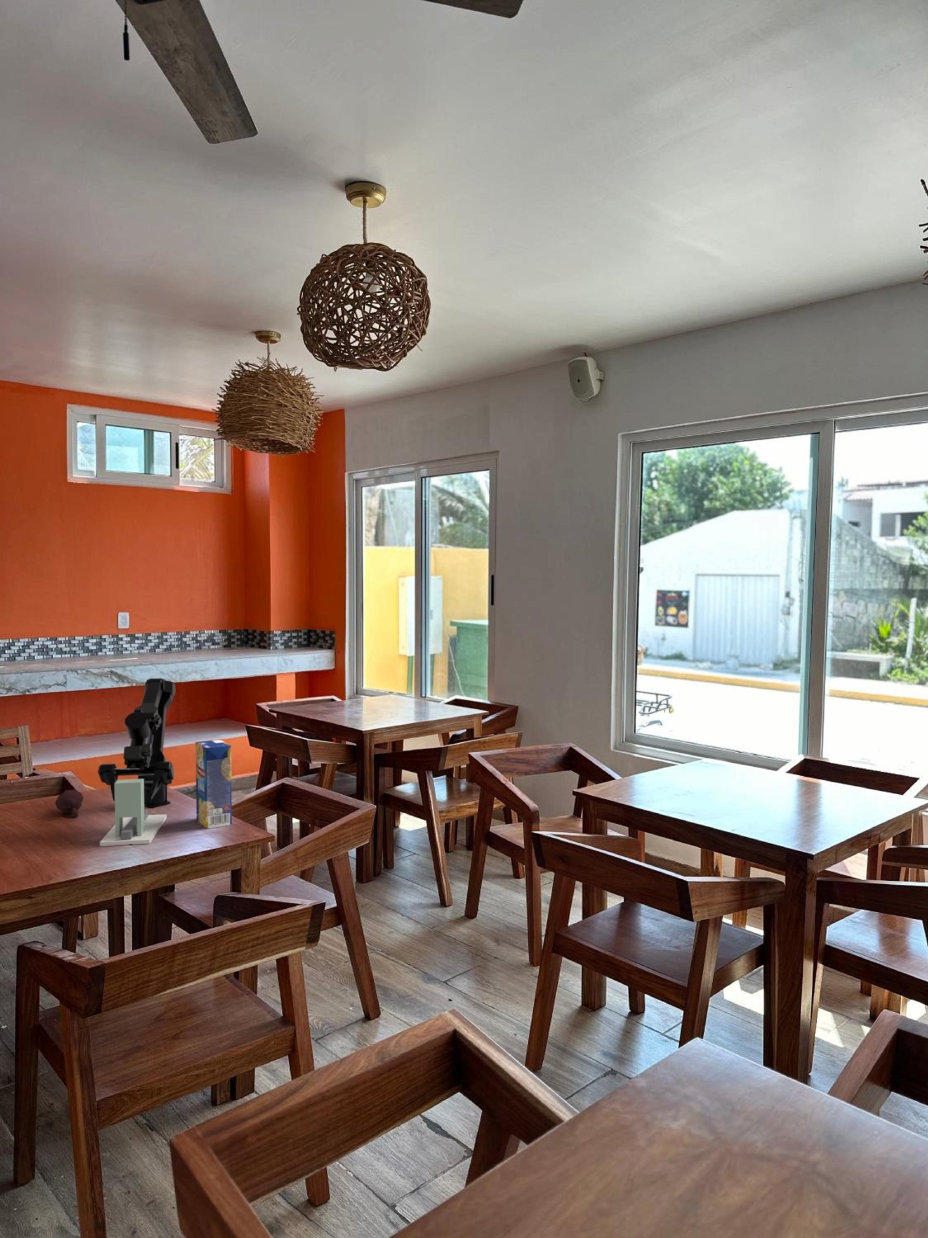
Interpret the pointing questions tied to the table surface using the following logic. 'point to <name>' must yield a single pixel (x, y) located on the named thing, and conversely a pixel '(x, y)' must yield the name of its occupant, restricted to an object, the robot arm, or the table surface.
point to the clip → (129, 803)
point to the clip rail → (143, 839)
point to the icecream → (69, 802)
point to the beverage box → (213, 783)
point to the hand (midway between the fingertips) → (132, 799)
